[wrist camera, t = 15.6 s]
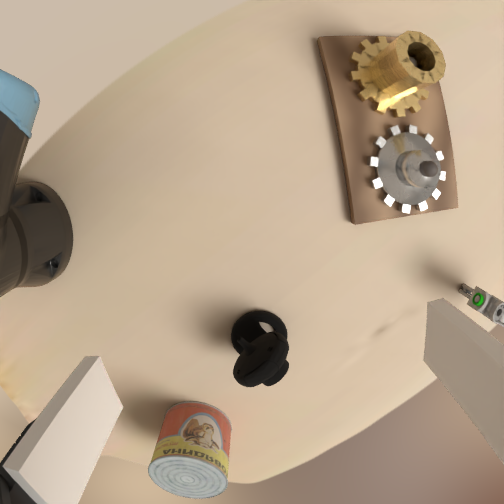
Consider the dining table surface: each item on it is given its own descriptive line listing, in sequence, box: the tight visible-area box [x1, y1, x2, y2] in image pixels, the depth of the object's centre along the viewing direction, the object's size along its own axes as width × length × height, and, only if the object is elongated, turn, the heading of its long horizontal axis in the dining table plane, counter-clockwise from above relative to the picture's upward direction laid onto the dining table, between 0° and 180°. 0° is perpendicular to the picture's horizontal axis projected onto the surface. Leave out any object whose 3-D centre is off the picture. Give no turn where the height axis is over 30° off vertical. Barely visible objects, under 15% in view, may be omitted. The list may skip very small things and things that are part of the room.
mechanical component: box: [459, 284, 504, 327], centre depth 36 cm, size 3×10×10 cm, turn 66°
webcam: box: [231, 311, 289, 387], centre depth 38 cm, size 8×8×10 cm
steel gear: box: [367, 125, 446, 213], centre depth 33 cm, size 11×11×5 cm
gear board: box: [317, 36, 458, 225], centre depth 32 cm, size 16×24×8 cm, turn 10°
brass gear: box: [348, 31, 446, 118], centre depth 29 cm, size 11×11×9 cm
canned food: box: [148, 401, 232, 499], centre depth 41 cm, size 11×11×12 cm
